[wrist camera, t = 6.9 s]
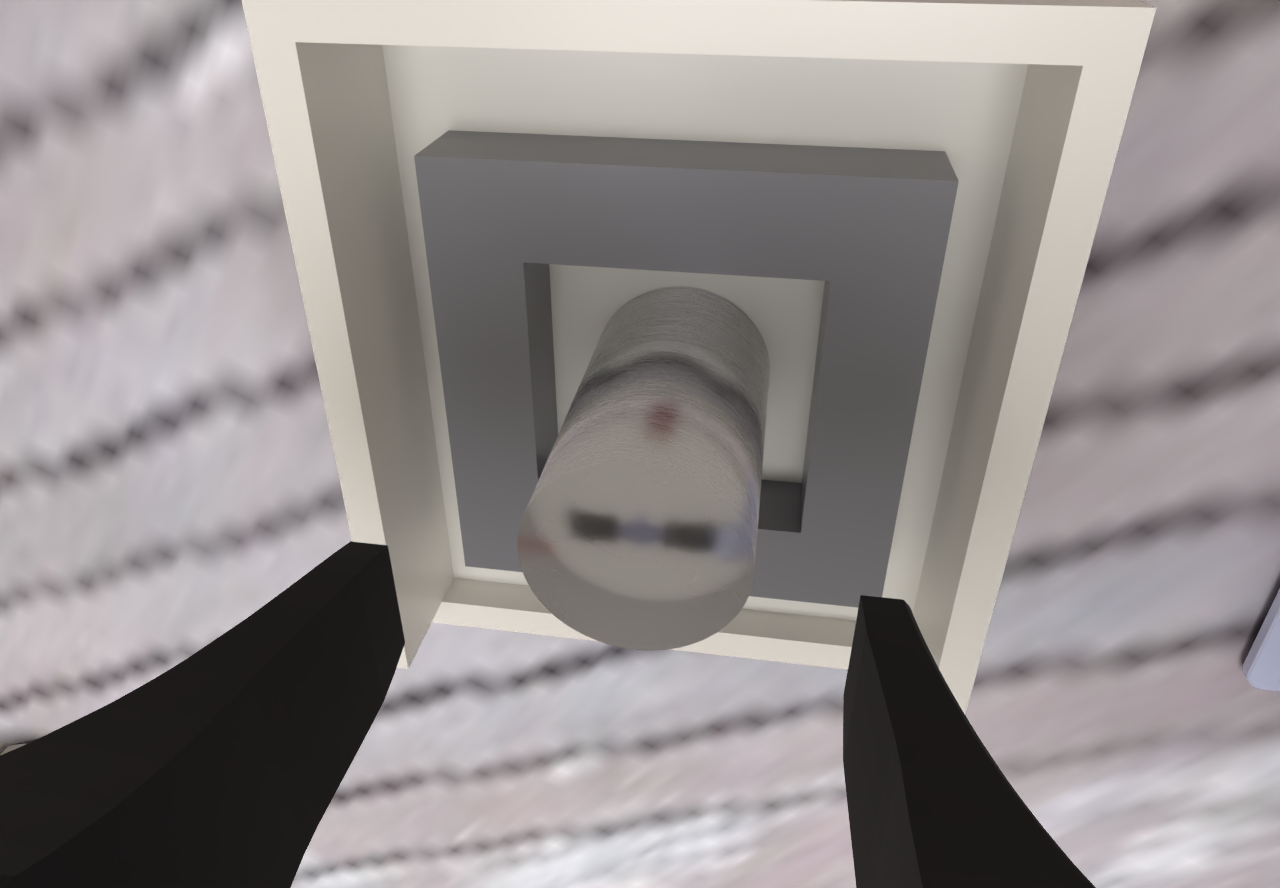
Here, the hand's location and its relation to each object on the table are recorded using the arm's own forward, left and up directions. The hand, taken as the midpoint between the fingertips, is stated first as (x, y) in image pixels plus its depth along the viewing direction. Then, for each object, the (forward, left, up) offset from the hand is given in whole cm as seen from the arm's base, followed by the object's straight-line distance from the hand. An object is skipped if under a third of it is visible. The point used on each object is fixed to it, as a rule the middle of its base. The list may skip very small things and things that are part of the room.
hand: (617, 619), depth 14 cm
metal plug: (0, 0, -9) cm, 9 cm away
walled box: (0, 0, -9) cm, 9 cm away
